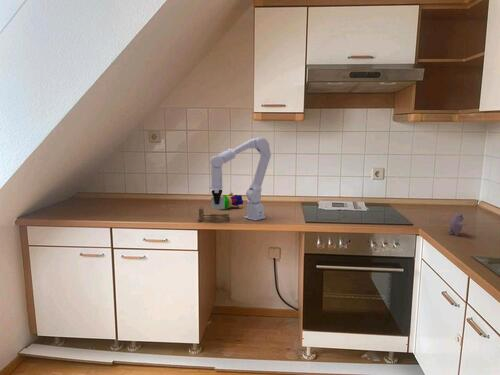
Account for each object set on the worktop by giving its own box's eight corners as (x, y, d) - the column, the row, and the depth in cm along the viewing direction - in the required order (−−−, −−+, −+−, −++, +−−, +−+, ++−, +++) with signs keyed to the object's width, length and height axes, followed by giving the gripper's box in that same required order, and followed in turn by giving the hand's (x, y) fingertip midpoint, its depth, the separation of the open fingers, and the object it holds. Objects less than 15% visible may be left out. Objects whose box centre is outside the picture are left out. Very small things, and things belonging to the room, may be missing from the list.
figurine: (466, 238, 168) (469, 216, 166) (452, 238, 169) (454, 215, 167) (456, 231, 179) (458, 210, 178) (443, 230, 180) (445, 209, 179)
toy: (235, 194, 237) (214, 196, 228) (241, 188, 230) (220, 190, 222) (241, 211, 232) (220, 214, 224) (247, 205, 226) (225, 207, 217)
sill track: (229, 218, 204) (229, 205, 203) (229, 221, 197) (229, 208, 196) (200, 218, 203) (199, 206, 202) (199, 221, 196) (198, 209, 195)
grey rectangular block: (224, 208, 200) (224, 197, 199) (224, 208, 198) (224, 197, 197) (211, 208, 200) (211, 197, 199) (211, 208, 198) (211, 197, 197)
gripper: (209, 176, 203) (210, 201, 205) (208, 180, 189) (208, 206, 191) (222, 176, 203) (223, 201, 206) (222, 180, 189) (222, 206, 192)
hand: (217, 203), depth 198 cm, fingers closed on grey rectangular block, 2 cm apart
